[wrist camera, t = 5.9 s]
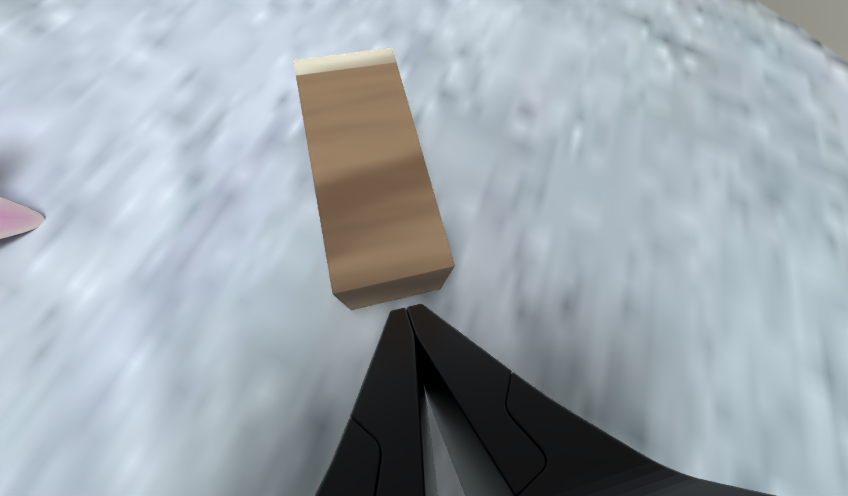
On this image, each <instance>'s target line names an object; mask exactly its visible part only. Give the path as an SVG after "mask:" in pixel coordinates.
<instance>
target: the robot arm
mask: <svg viewBox="0 0 848 496" xmlns="http://www.w3.org/2000/svg"><path fill="white" fill-rule="evenodd" d="M424 388H425V389H424ZM425 391H426V394H427V397H428V400H429V403H430V405H431V408H432V410H433V413H434V416H435V418H436V421H437V423H438V426H439V428H440V431H441V434H442V436H443V439H444V441H445V444H446V446H447V449H448V452H449V454H450V457H451V459H452V462H453V464H454V467H455V470H456V472H457V475H458V477H459V480H460V483H461V485H462V488H463V490H464V493H465V495H466V496H775V495H771V494H766V493H762V492H757V491H753V490H748V489H743V488H739V487H734V486H730V485H725V484H721V483H716V482H712V481H707V480H703V479H698V478H695V477H692V476H689V475H686V474H683V473H680V472H678V471H675V470H673V469H670V468H668V467H666V466H664V465H662V464H659V463H657V462H655V461H653V460H652V459H650V458H648V457H646V456H644V455H643V454H641V453H639V452H638V451H636V450H634V449H633V448H631V447H629V446H628V445H626V444H624V443H623V442H621V441H619V440H618V439H616V438H614V437H613V436H611V435H609V434H608V433H606V432H604V431H603V430H601V429H599V428H598V427H596V426H594V425H593V424H591V423H589V422H588V421H586V420H584V419H583V418H581V417H579V416H578V415H576V414H574V413H573V412H571V411H569V410H568V409H566V408H565V407H563V406H561V405H560V404H558V403H557V402H555V401H554V400H552V399H550V398H549V397H547V396H546V395H544V394H543V393H542V392H540V391H539V390H537V389H536V388H535V387H533V386H532V385H530V384H529V383H527V382H526V381H525V380H523V379H522V378H521V377H519V376H518V375H517V374H515V373H512V371H511V370H510V369H508V368H507V367H506V366H504V365H503V364H502V363H500V362H499V361H498V360H496V359H495V358H494V357H492V356H491V355H490V354H488V353H487V352H486V351H484V350H483V349H482V348H480V347H479V346H478V345H476V344H475V343H474V342H472V341H471V340H470V339H468V338H467V337H466V336H464V335H463V334H462V333H460V332H459V331H458V330H456V329H455V328H454V327H452V326H451V325H450V324H448V323H447V322H446V321H444V320H443V319H442V318H440V317H439V316H438V315H436V314H435V313H434V312H432V311H431V310H430V309H428V308H427V307H426V306H424V305H423V304H418V305H413V306H409V307H408V308H407V310H406V309H405V308H401V309H397V310H393V311H391V312H390V313H389V316H388V319H387V321H386V324H385V326H384V329H383V332H382V334H381V337H380V339H379V342H378V345H377V347H376V350H375V352H374V355H373V358H372V360H371V363H370V365H369V368H368V371H367V373H366V376H365V378H364V381H363V384H362V386H361V389H360V391H359V394H358V397H357V399H356V402H355V404H354V407H353V410H352V412H351V415H350V419H349V420H348V422H347V425H346V427H345V430H344V433H343V435H342V438H341V440H340V443H339V445H338V447H337V450H336V452H335V454H334V457H333V459H332V462H331V464H330V466H329V468H328V470H327V472H326V474H325V476H324V478H323V480H322V482H321V484H320V486H319V488H318V490H317V493H316V494H315V496H438V493H437V485H436V476H435V468H434V460H433V451H432V443H431V435H430V427H429V418H428V410H427V402H426V395H425Z"/></svg>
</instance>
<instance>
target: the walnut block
mask: <svg viewBox="0 0 848 496" xmlns="http://www.w3.org/2000/svg"><path fill="white" fill-rule="evenodd" d="M293 61H294V67H295V73H296V79H297V85H298V91H299V97H300V103H301V109H302V115H303V121H304V127H305V132H306V138H307V144H308V150H309V156H310V162H311V168H312V174H313V180H314V186H315V192H316V198H317V204H318V210H319V216H320V222H321V228H322V234H323V239H324V245H325V251H326V257H327V263H328V269H329V275H330V281H331V287H332V293H333V295H334V296H336V297H337V298H338V299H339V300H340V301H341V302H342V303H343V304H345V305H346V306H347V307H348V308H349V309H350V310H354V309H358V308H362V307H366V306H371V305H375V304H379V303H383V302H387V301H392V300H396V299H400V298H404V297H408V296H413V295H417V294H421V293H425V292H429V291H434V290H438V289H441V287H442V286H443V284H444V282H445V281H446V279H447V278H448V276H449V274H450V273H451V271H452V270H453V268H454V266H455V265H454V262H453V258H452V255H451V251H450V248H449V244H448V241H447V237H446V234H445V230H444V227H443V223H442V220H441V216H440V213H439V209H438V206H437V202H436V199H435V195H434V192H433V188H432V185H431V181H430V178H429V175H428V171H427V168H426V164H425V161H424V157H423V154H422V150H421V147H420V143H419V140H418V136H417V133H416V129H415V126H414V122H413V119H412V115H411V112H410V108H409V105H408V101H407V98H406V94H405V91H404V87H403V84H402V80H401V77H400V73H399V70H398V66H397V63H396V59H395V56H394V52H393V49H392V48H384V49H376V50H368V51H361V52H353V53H345V54H337V55H329V56H321V57H313V58H305V59H297V60H293Z"/></svg>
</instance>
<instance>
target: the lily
mask: <svg viewBox="0 0 848 496" xmlns="http://www.w3.org/2000/svg"><path fill="white" fill-rule="evenodd" d="M44 220H45V218H44V217H43V216H42V215H41V214H40V213H38V212H36V211H34V210H32V209H30V208H28V207H25V206H23V205H20V204H18V203H15V202H12V201H10V200H7V199H4V198H2V197H0V239H2V238H6V237H9V236H13V235H17V234H21V233H24V232H27V231H30V230H32V229H35V228H38V227H39V226H40V225H41V223H42V222H43V221H44Z"/></svg>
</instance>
